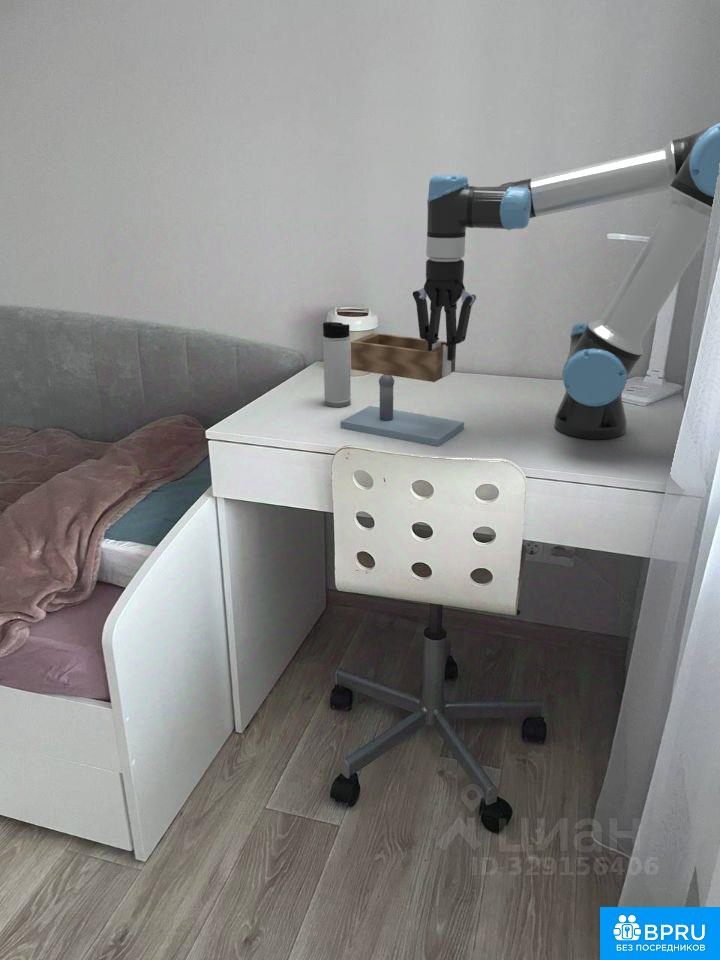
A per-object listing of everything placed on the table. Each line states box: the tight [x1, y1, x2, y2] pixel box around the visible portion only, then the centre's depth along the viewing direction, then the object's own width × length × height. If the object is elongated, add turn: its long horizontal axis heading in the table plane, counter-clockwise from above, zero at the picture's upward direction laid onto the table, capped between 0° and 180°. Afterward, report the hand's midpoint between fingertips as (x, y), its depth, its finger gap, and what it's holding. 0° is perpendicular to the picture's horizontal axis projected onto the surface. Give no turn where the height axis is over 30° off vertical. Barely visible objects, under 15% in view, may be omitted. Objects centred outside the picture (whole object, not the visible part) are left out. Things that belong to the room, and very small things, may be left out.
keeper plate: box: [340, 374, 465, 447], centre depth 173 cm, size 24×13×12 cm, turn 59°
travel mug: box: [322, 321, 352, 408], centre depth 188 cm, size 6×7×20 cm
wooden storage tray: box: [350, 332, 457, 383], centre depth 169 cm, size 20×10×6 cm, turn 59°
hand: (441, 374), depth 166 cm, fingers closed on wooden storage tray, 2 cm apart
